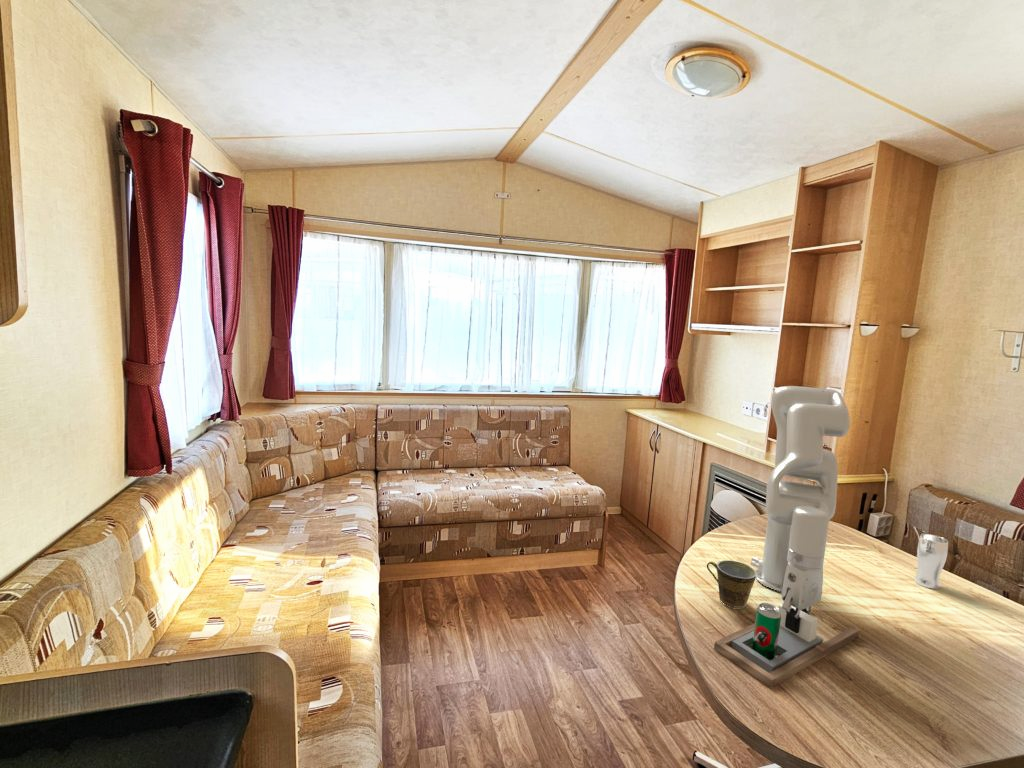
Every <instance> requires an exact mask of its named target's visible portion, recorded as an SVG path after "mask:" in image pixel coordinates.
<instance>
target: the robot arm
mask: <svg viewBox="0 0 1024 768" xmlns="http://www.w3.org/2000/svg"><path fill="white" fill-rule="evenodd" d="M771 411H772V415H773V418H774V423H775V426H776V443H775V457H774V458H775V459H774V460H775V461H774V462H775V463H774V465H775V467H774V468H773V469H772V471H771V473H770V474H769V476H768V479H767V481H766V482H767V483H766V496H765V513H766V515H767V518H766V519H767V521H766V529H765V530H766V531H765V538H764V545H763V554H762V559H760V558H759V557H757V556H752V558H751V562H750V565H751V566H753V567H755V568H757V570H755V572H756V578H755V580H756V579H757V580H758V581H759V582H760V583H761V584H760V583H759V582H758V581H757V580H756V581H757V582H758V583H759V584H760V585H762V584H763V585H764V586H763V585H762V586H763V587H765V586H766V587H765V588H767V587H769V588H771V589H770V590H772V589H774V590H773V591H775V590H777V591H776V592H778V591H781V592H780V593H781V600H782V601H783V603H782V604H783V605H782V609H784V610H786V621H785V627H786V628H788V629H790V630H791V631H793V632H795V633H799V628H800V621H801V618H799V615H800V610H801V611H803V612H805V613H807V614H809V615H810V613H811V611H812V606H814V605H816V604H818V603H820V601H821V600H822V593H823V585H824V584H823V583H824V560H825V554H826V548H827V547H826V546H827V539H828V531H829V525H830V520H831V519H833V518H834V515H835V514H836V509H837V493H838V474H839V473H838V471H839V466H838V465H839V464H838V460H837V459H838V458H837V456H836V454H835V453H834V452H832V451H831V450H829V449H825V448H824V436H827V437H836V438H842V437H845V436H846V435H847V434H848V433H849V430H850V426H851V425H850V424H851V421H850V420H851V417H850V413H849V409H848V407H847V404H846V402H845V400H844V398H843V396H842V394H841V392H840V391H838V390H835V389H831V388H821V387H820V388H819V387H809V386H797V385H786V386H785V385H783V386H778V387H777V388H774V389H773V392H772V395H771ZM783 477H789V478H795V479H802V480H810V481H814V482H816V483H817V485H814V484H809V483H808V484H807V483H802V482H795V481H787V480H782V478H783ZM769 588H768V589H769ZM791 605H792V606H794V607H796V611H795V609H793V608H792V607H791Z"/></svg>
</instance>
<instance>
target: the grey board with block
mask: <svg viewBox="0 0 1024 768" xmlns="http://www.w3.org/2000/svg"><path fill="white" fill-rule="evenodd" d="M782 605H783V603H781V604H779V605H778V607H777V608H778V609H779V610H780V614H781V621H780V629H779V637H778V645H777V653H776V654H778V656H776V658H774V659H772V660H771V661H770V660H768V659H767V658H765V657H764V656H762V655H760V654H759V653H757V652H756V651H754V650H753V649H752V647H751V646H752V645H753V636H754V631H752V632H750V633H748V634H746V635H743V636H741V637H739V638H737V639H735V640H733V641H732V647H731V648H732V649H734V650H735V651H737V652H738V653H740V654H741V655H743V656H744V657H746V658H747V659H749V660H750V661H752V662H753V663H755V664H756V665H758V666H759V667H761V668H762V669H764V670H765V671H767V672H768V673H770V672H772V671H774V670H776V669H778V668H779V667H781V666H783V665H785V664H786V663H788V662H790V661H792V660H794V659H795V658H797V657H799V656H801V655H802V654H804V653H806V652H808V651H810V650H811V649H813V648H815V646H817V645H820V644H822V643H824V638H822V637H820V636H819V635H817V632H818V624H819V623H818V622H819V619H818V618H816V617H814V616H812V615H810V613H809V614H807V613H805V612H803V611H801V610H800V615H799V618H801V621H800V628H799V633H795V632H793V631H791V630H790V629H788V628H786V627H785V621H786V610H784V609H782ZM791 607H792V608H793V609H795V611H796V608H795V607H794V606H792V605H791Z"/></svg>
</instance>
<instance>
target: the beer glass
mask: <svg viewBox="0 0 1024 768" xmlns="http://www.w3.org/2000/svg"><path fill="white" fill-rule="evenodd" d="M948 550H949V541H948V539H946V538H944V537H941V536H939V535H936V534H930V533H921V534H920V536H919V540H918V545H917V551H916V555H917V556H916V557H917V559H916V561H917V572H916V574H915V576H914V579H913V580H914V581H913V582H915V583H916V584H918V585H919V586H921V585H922V587H923V586H924V588H926V587H927V588H926V589H930V588H931V589H932V590H939V589H940V588H941V587H940V585H941V584H940V576H941V573H942V570H943V568H944V566H945V564H946V561H947V557H948V552H949V551H948Z"/></svg>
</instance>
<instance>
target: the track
mask: <svg viewBox="0 0 1024 768" xmlns="http://www.w3.org/2000/svg"><path fill="white" fill-rule="evenodd" d="M795 608H796V607H795ZM754 628H755V622H754V623H752V624H750V625H747V626H745V627H744V628H741V629H739V630H737V631H735V632H733V633H731V634H728V635H726V636H724V637H721V638H720V639H717V640H716V641H714V644H713V645H714V646H713V649H714V650H715V651H717V652H719V653H720V654H722V656H724V657H726V658H727V659H728V660H730V661H731V662H733V663H734V664H735V665H736V666H738V667H740V668H741V669H743V670H744V671H746V672H747V673H749V674H750V675H752V677H754V678H756V679H757V680H759V681H760V682H762V683H763V684H764V685H766V686H767V687H769V688H773V687H775V686H777V685H779V684H781V683H782V682H784V681H786V680H788V679H789V678H791V677H792V676H794V675H795V674H797V673H799V672H801V671H802V670H804V669H806V668H807V667H809V666H812V665H813V664H814V663H816V662H818V661H819V660H822V659H823V658H824V657H826V656H829V655H830V654H831V653H833V652H835V651H836V650H838V649H840V648H842V647H843V646H845V645H846V644H848V643H850V642H851V641H853V640H855V639H857V638H858V637H859V633H860V630H859V629H858V628H856V627H854V626H850V627H848V628H847V629H845V630H843V631H842V632H840V633H838V634H836V635H834V636H833V637H831V638H829V639H828V640H826V641H823V643H822V644H820V645H817V646H815V648H813V649H811V650H810V651H808V652H806V653H804V654H802V655H801V656H799V657H797V658H795V659H794V660H792V661H790V662H788V663H786V664H785V665H783V666H781V667H779V668H778V669H776V670H774V671H772V672H770V673H768V672H767V671H765V670H764V669H762V668H761V667H759V666H758V665H756V664H755V663H753V662H752V661H750V660H749V659H747V658H746V657H744V656H743V655H741V654H740V653H738V652H737V651H735V650H734V649H732V648H731V647H732V641H733V640H735V639H737V638H739V637H741V636H743V635H746V634H748V633H750V632H752V631H754Z"/></svg>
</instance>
